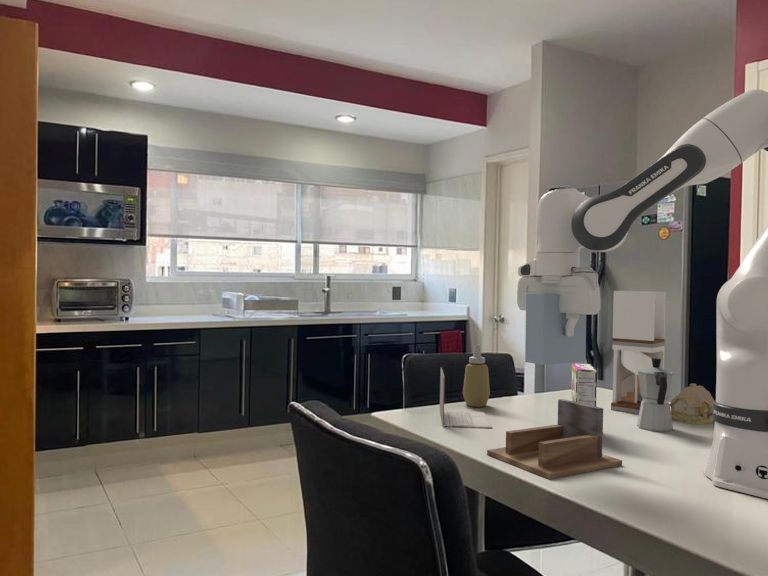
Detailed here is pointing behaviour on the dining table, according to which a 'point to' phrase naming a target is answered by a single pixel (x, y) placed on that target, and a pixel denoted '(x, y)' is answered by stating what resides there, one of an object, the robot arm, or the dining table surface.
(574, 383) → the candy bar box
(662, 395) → the coffee maker
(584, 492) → the dining table surface
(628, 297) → the white coffee grinder
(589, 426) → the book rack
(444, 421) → the laptop
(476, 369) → the squeeze bottle
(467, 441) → the dining table surface
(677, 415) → the ceramic model
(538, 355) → the book
